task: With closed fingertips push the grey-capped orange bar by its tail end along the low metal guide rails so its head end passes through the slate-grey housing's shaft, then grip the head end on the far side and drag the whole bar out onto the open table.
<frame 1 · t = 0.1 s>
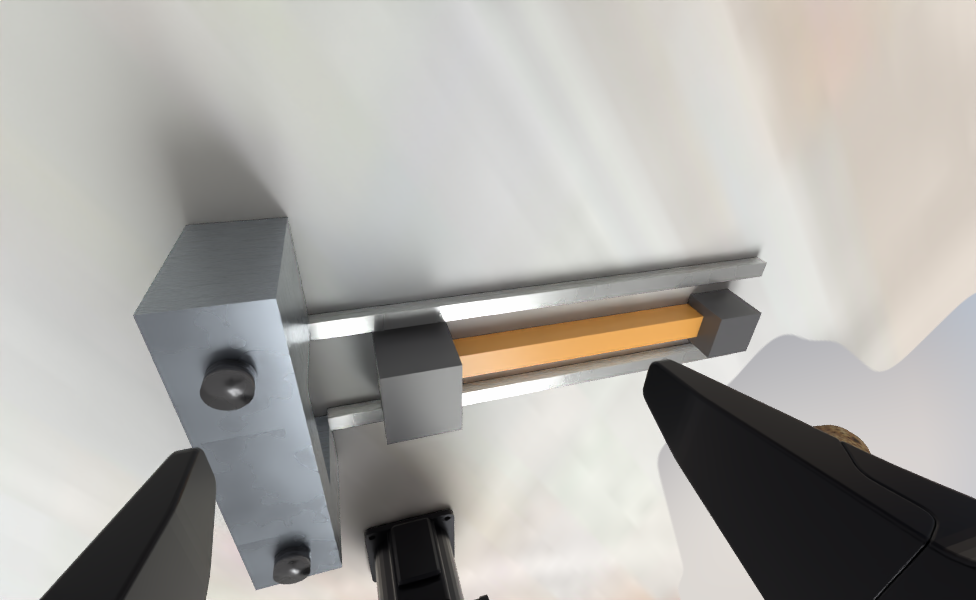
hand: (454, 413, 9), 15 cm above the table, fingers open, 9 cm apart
grey-capped orange bar: (411, 357, 27), on the table
natural sponge: (770, 432, 44), on the table
housing: (280, 378, 25), on the table
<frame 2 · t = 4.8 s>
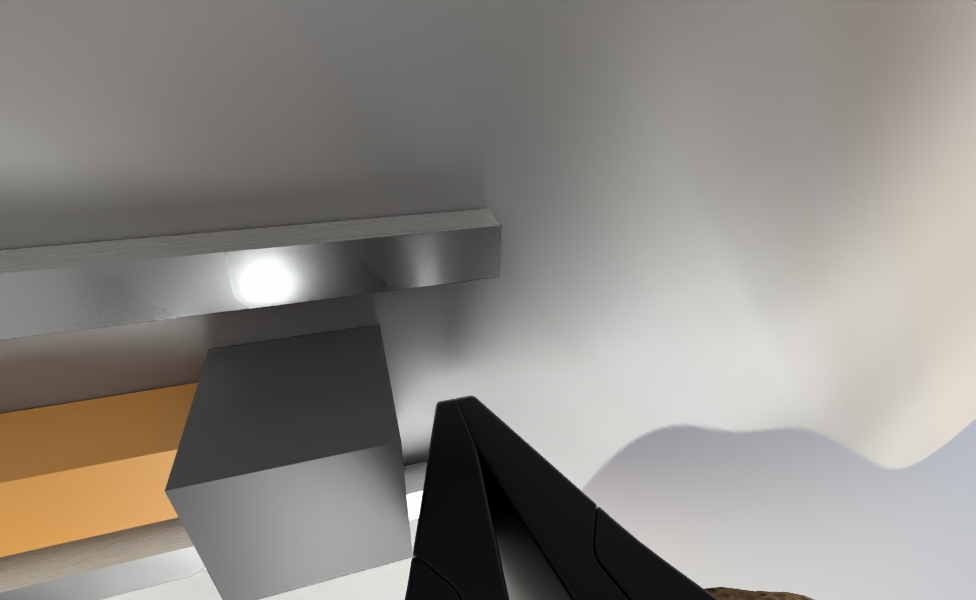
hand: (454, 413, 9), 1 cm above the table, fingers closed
natural sponge: (679, 591, 22), on the table
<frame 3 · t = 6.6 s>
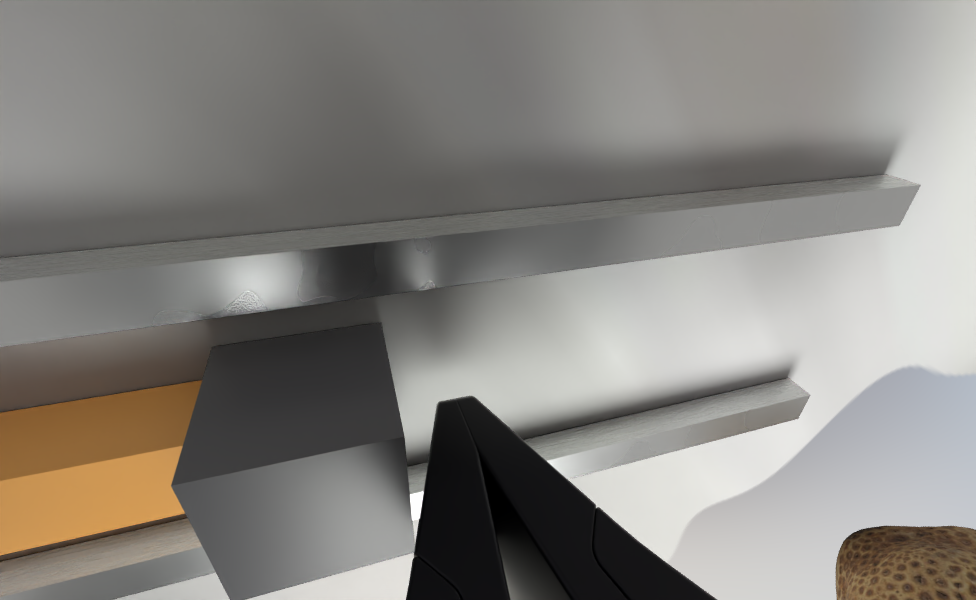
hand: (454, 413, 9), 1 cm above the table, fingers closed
natural sponge: (843, 531, 25), on the table
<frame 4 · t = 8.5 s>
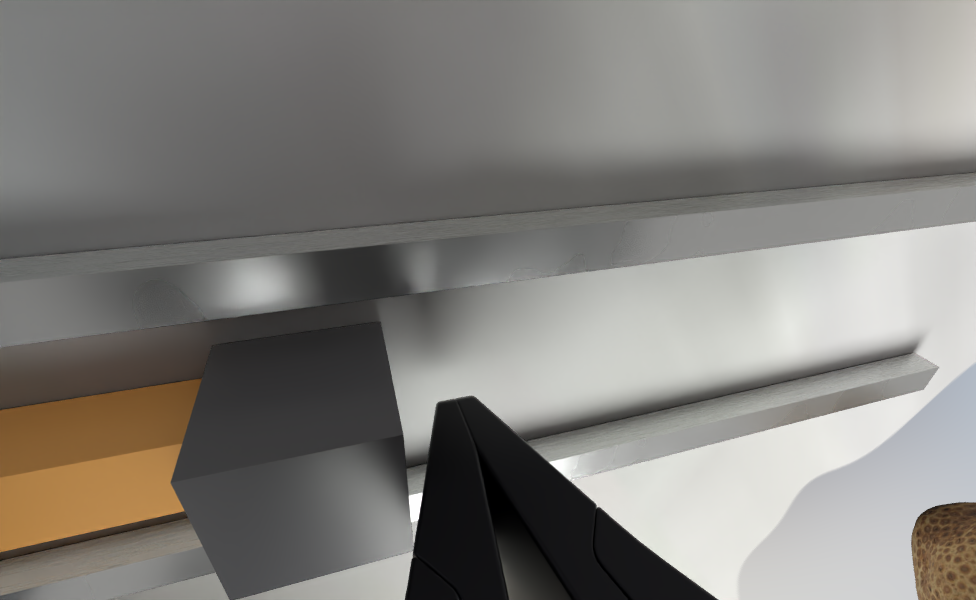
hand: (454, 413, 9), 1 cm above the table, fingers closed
natural sponge: (917, 508, 26), on the table
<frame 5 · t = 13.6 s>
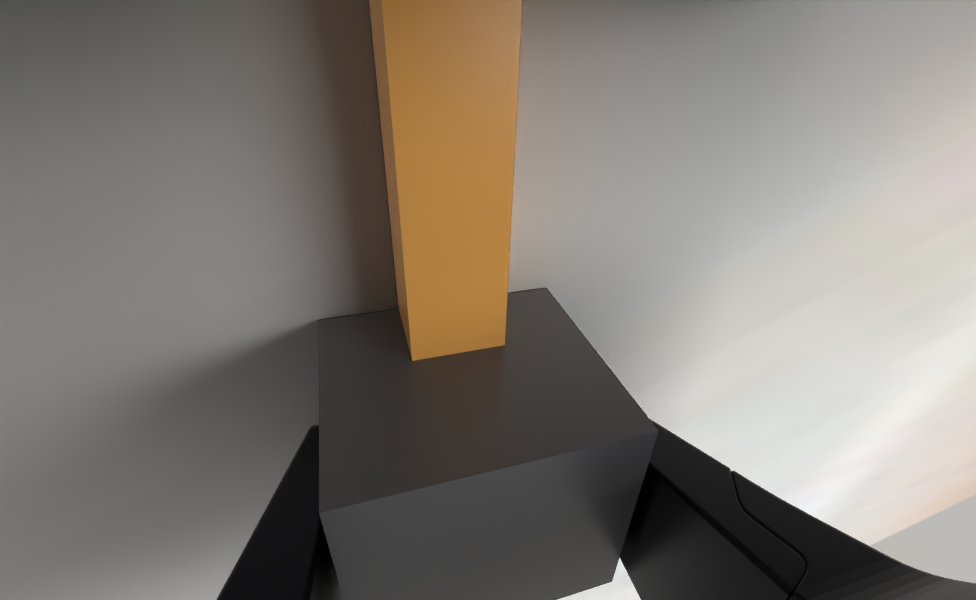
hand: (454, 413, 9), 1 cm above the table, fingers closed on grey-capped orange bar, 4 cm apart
grey-capped orange bar: (442, 380, 10), on the table, touching gripper
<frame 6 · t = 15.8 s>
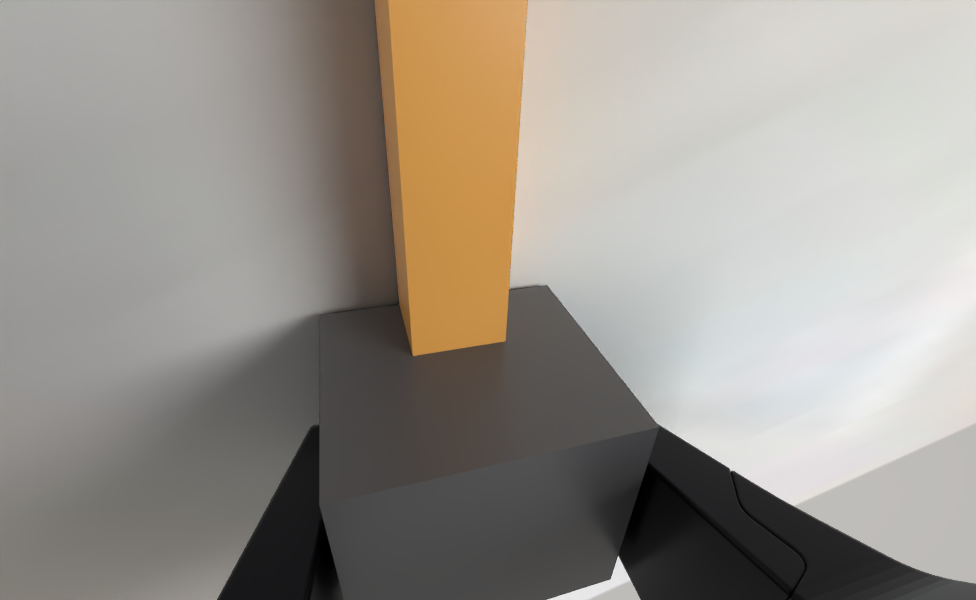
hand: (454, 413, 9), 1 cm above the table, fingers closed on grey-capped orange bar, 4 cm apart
grey-capped orange bar: (442, 376, 10), on the table, touching gripper
when the fingers open (1 cm above the table, at t = 18.1 s): grey-capped orange bar stays where it is, on the table.
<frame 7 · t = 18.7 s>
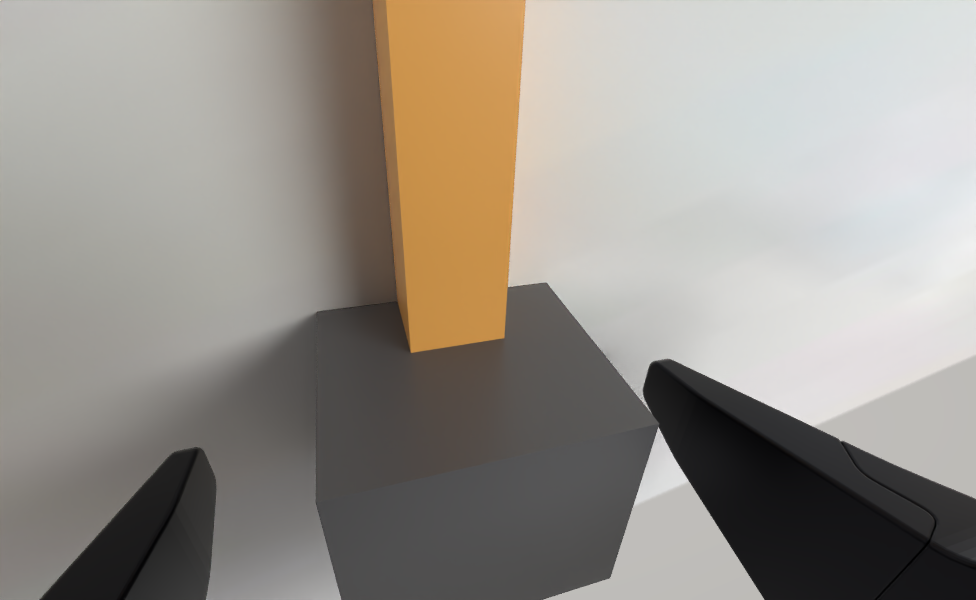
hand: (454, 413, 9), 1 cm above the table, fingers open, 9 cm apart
grey-capped orange bar: (441, 374, 10), on the table
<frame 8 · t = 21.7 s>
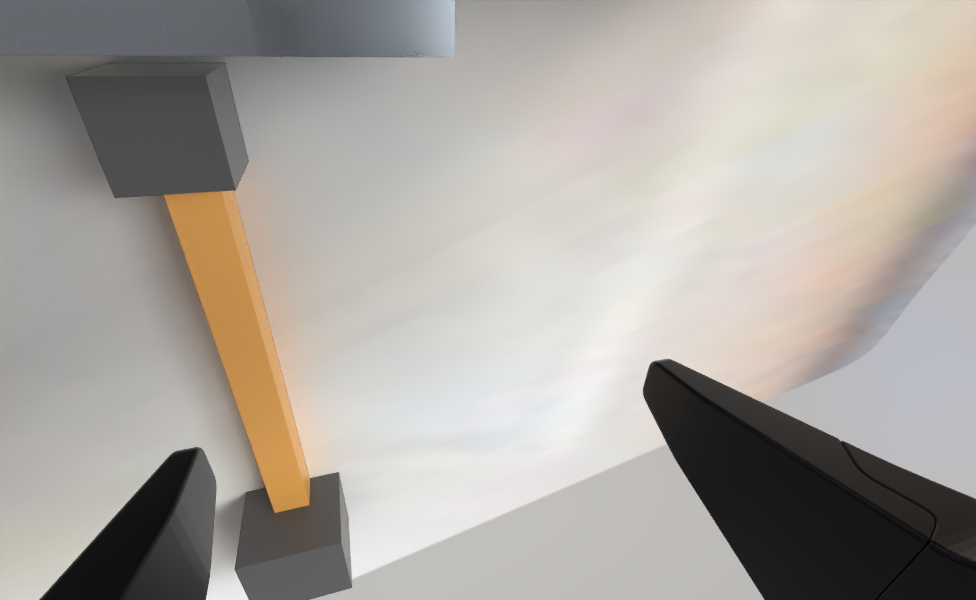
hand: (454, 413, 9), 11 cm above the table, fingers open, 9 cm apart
grey-capped orange bar: (300, 505, 25), on the table
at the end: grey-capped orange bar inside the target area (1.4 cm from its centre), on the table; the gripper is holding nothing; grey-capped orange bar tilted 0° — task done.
